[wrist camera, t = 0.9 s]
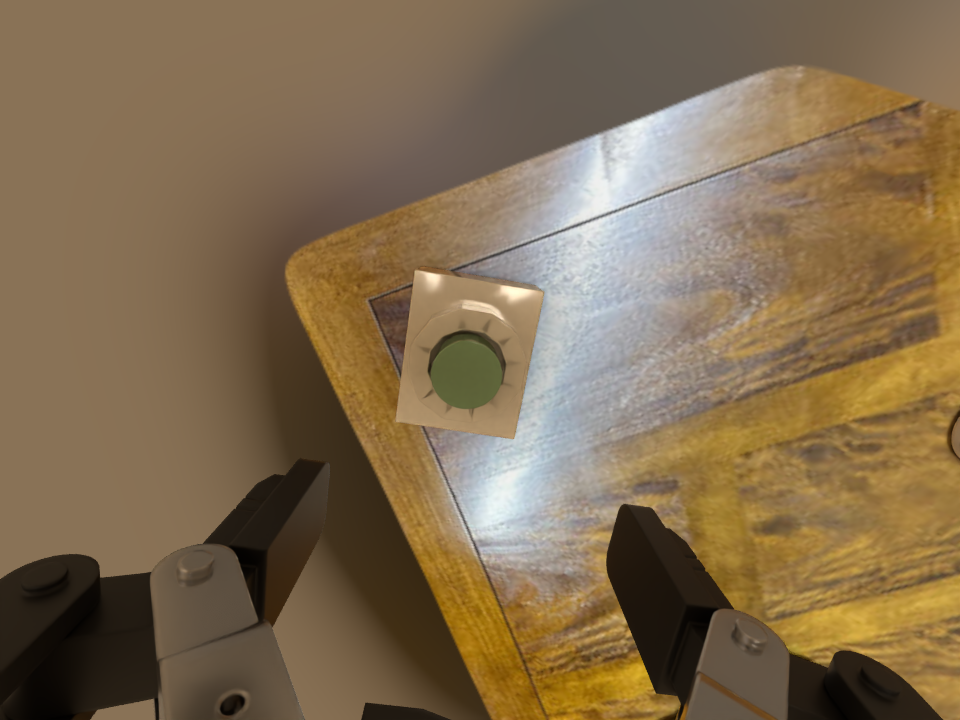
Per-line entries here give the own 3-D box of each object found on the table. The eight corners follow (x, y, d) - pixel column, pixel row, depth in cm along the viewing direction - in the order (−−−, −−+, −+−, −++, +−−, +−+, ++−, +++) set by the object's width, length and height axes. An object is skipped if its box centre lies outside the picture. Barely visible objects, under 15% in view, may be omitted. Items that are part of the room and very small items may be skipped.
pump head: (438, 328, 26) (436, 335, 24) (505, 339, 26) (508, 347, 24) (429, 391, 27) (426, 404, 25) (493, 401, 27) (495, 414, 25)
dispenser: (422, 265, 30) (410, 271, 25) (535, 285, 31) (550, 295, 25) (404, 400, 33) (389, 434, 27) (509, 416, 34) (517, 453, 28)
